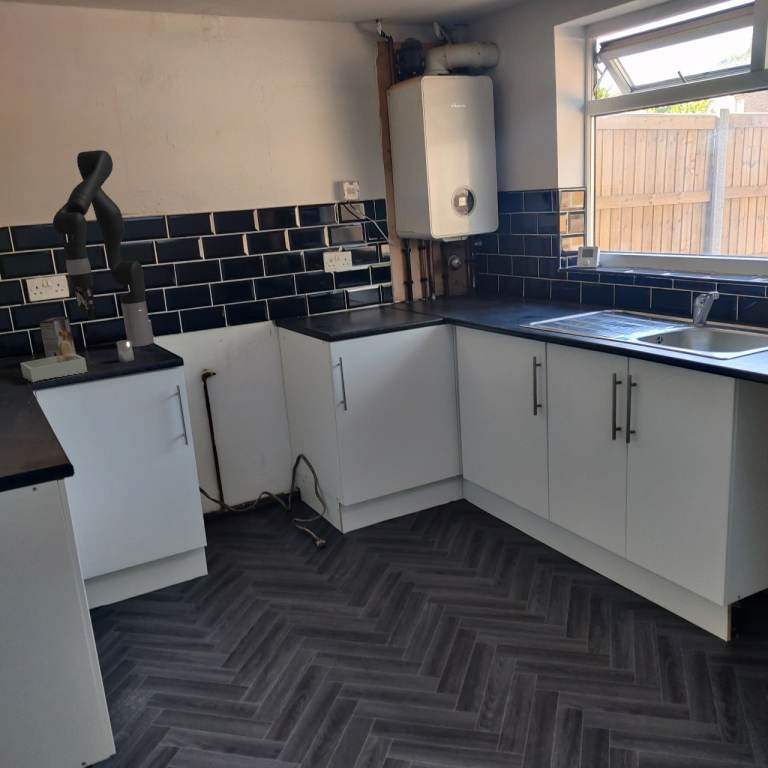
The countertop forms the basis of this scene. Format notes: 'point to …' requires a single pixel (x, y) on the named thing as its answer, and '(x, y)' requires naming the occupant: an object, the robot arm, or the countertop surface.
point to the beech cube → (65, 358)
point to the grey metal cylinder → (125, 351)
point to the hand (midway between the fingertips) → (88, 318)
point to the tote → (52, 368)
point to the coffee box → (57, 336)
